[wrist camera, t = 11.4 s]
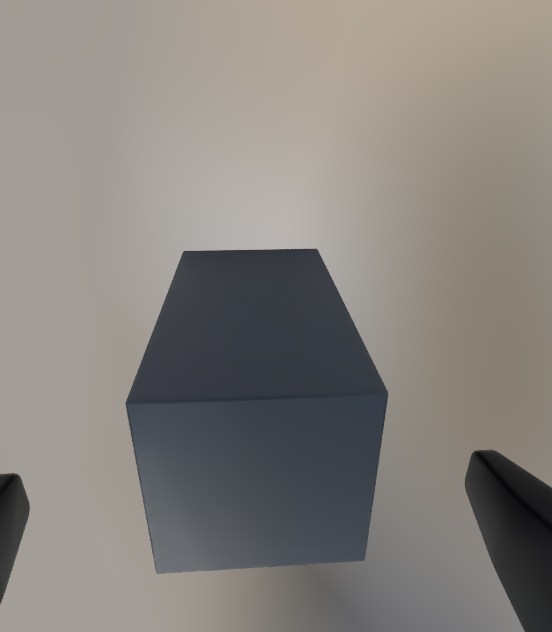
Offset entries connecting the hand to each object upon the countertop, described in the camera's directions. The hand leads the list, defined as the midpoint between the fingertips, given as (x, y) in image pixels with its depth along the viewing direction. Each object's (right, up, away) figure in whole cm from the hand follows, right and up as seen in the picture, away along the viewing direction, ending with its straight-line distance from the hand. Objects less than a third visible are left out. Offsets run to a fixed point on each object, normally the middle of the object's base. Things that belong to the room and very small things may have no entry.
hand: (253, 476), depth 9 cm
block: (0, +3, +7) cm, 8 cm away
